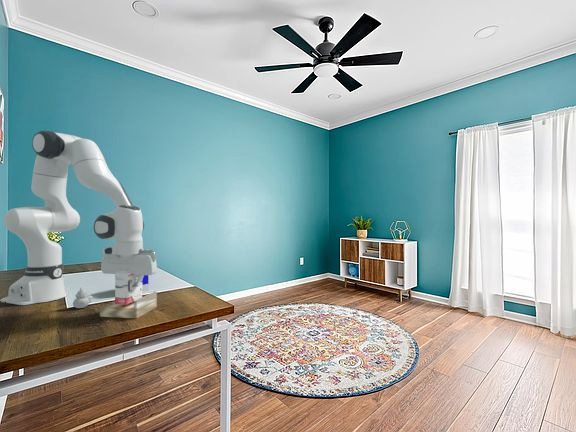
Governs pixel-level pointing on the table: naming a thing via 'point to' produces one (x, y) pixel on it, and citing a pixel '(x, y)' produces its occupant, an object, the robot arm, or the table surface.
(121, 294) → the ink box
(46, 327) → the table surface
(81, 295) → the grey tiered figurine
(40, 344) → the table surface
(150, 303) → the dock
